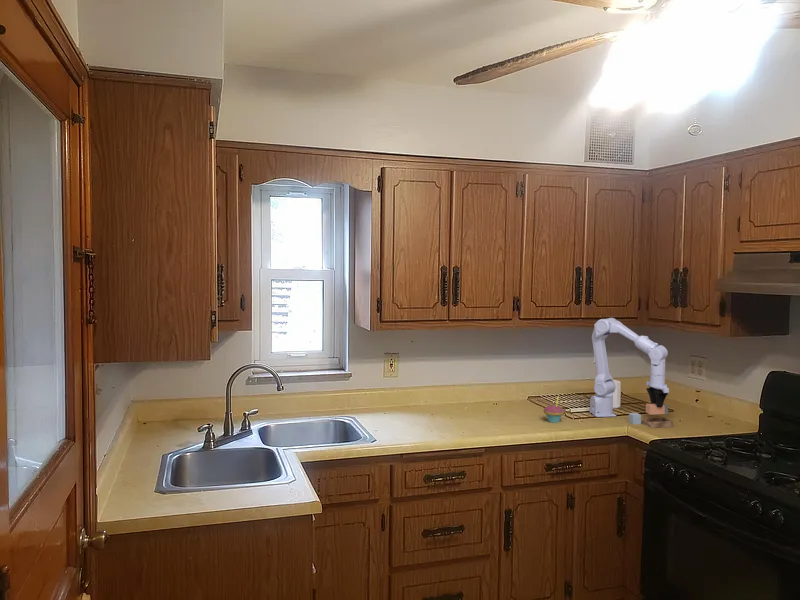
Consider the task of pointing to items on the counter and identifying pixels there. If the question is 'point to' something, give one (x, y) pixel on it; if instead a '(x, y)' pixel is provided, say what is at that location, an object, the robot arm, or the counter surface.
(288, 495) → the counter surface
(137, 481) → the counter surface
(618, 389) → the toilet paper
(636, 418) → the pale blue-grey cube
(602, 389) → the robot arm
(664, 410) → the two-tone peach block
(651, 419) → the jig
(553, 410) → the cupcake
